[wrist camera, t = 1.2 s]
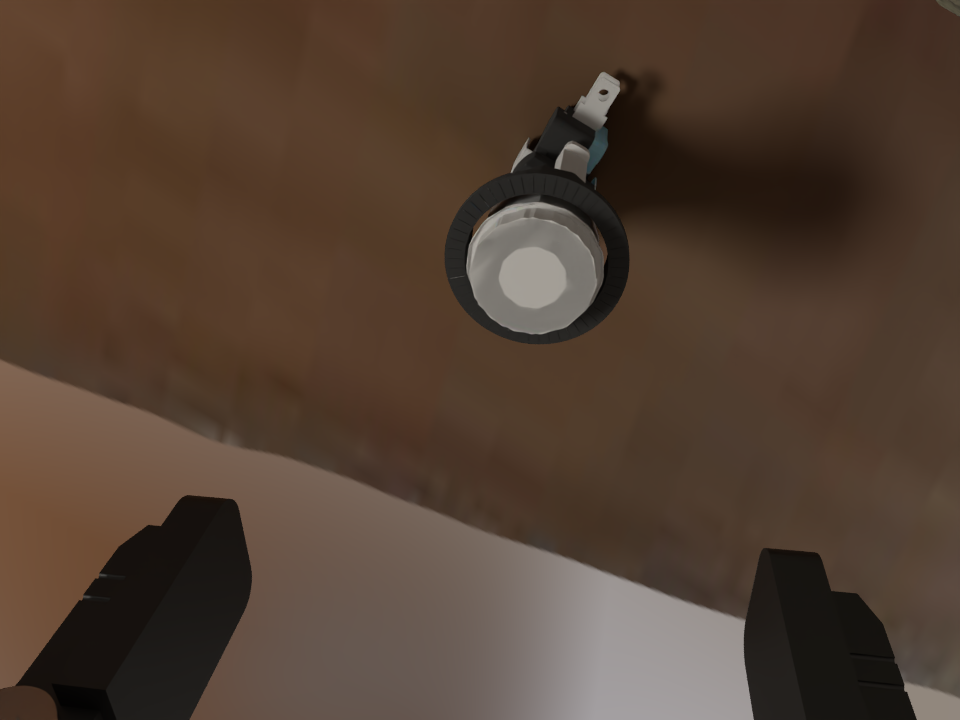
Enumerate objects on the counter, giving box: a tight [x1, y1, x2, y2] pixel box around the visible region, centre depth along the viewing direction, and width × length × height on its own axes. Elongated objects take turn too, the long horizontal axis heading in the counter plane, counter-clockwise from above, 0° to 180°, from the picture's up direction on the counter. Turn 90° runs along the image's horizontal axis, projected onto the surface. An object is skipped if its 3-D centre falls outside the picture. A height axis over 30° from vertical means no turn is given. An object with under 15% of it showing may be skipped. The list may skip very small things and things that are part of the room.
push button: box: [445, 72, 629, 344], centre depth 27 cm, size 7×5×10 cm
